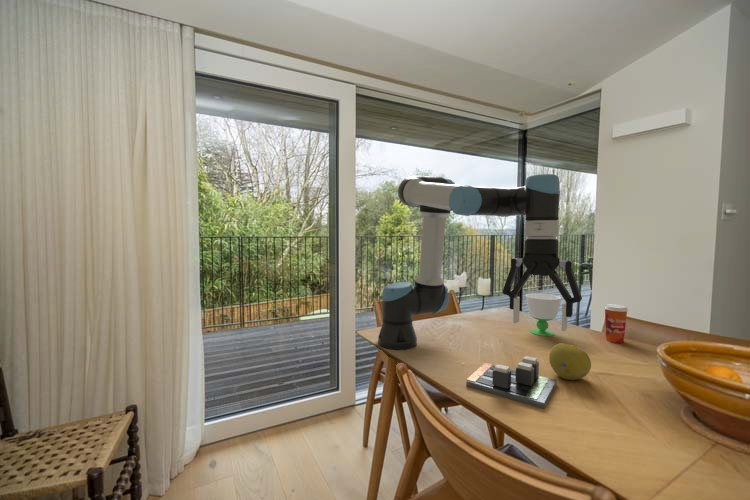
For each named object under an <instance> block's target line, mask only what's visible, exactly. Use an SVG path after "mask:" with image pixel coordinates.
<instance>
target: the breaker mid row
mask: <svg viewBox="0 0 750 500" xmlns="http://www.w3.org/2000/svg"><path fill="white" fill-rule="evenodd" d="M515 370H516V382H517V383H521V384H525V385H529V386H532V384H533V383H534V368H532V364H528V363H524V362H522V361H519V362H518V364H517V366H516V367H515Z"/></svg>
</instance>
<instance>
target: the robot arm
mask: <svg viewBox="0 0 750 500" xmlns="http://www.w3.org/2000/svg"><path fill="white" fill-rule="evenodd" d="M559 177H560V176H558V175H557V174H551V173H544V174H541V173H540V174H533V175H530V176H528V177H526V179H525V184H524V186H518V187H493V186H489V187H488V186H477V185H475V186H474V185H462V184H456V183H455V181H454V180H453V179H452V178H448V177H444V176H430V175H429V176H428V175H412V176H407V177H406V178H404V179H403V180H402V181H401V182H400V184H399V185H398V188H397V195H398V199H399V200H400V202H402V204H403V205H404V206H405V205H406V206H407V207H411V208H419V213H420V214H421V215H422V218H423V219H422V229H421V231H422V232H421V242H420V243H421V246H420V258H419V259H420V261H419V268H418V270H419V272H418V276H417V277H416V278H415V279H414V285H413V284H412V282H408V281H399V282H393V283H388V284H387V285H385V286H384V287H383V289H382V295H381V296H382V297H381V300H382V303H381V304H382V306H381V307H382V308H381V309H382V324H381V327H380V330H379V334H378V336H377V337H378V338H377V340H378V341H377V343H378V345H379V346H380V347H382V348H385V349H390V350H406V349H411V348H414V347H415V346H417V344H418V338H417V335H416V331H415V328H414V324H413V316H416V315H426V314H427V315H428V314H436V313H440V312H442V311H445V309H446V308H447V307H448V304H449V301H450V293H449V289H448V287H447V285H446V284H445V281H444V280H443V279H442V265H443V264H442V263H443V255H444V242H445V231H446V218H447V217H448V216H449V215H450V214H451V212H452V213H453V214H455V215H458V216H462V217H463V216H465V217H468V216H470V217H471V216H488V217H489V216H492V217H494V216H496V217H501V218H503V217H505V218H507V217H516V216H524V237H526V239H525V240H524V254H523V255H524V256H523V257H522V258H517V257H514V258H511V260H510V269H509V271H508V275H507V278H506V281H505V283H504V285H503V289H502V291H501V292H502V295H506V296H508V297H509V309H510V310H513V316H512V317H513V318H512V319H513V320H512V322H513V324H517V323H519V322H520V304H521V303H520V301H521V298H520V296H518V294H519V292H520V291H521V289H523V287H524V285H525V284H526V283H527V281H528V279H530V277H531V276H539V275H540V276H543V277H547V276H548V277H549V278H550V280H551V281H552V283H553V284H554V287H556V289H557V290H558V292H559V293H560V295H561V296H562V297H561V298H563V300H564V302H562V303H561V305H562V307H561V309H562V310H561V331H562V332H566V331H567V329H568V318H571V317H573V311H574V308H573V307H574V306H573V305H574V304H576V303H581V301H582V299H583V297H582V294H581V291H580V288H579V285H578V281H577V280H576V276H575V274H574V271H573V269H574V261H573V260H571V259H570V260H562V259H560V257H559V240H558V238H557V237H559V236H560V235H559V234H560V233H559V231H560V229H559V228H560V220H559V215H560V214H559V213H560V212H559V209H560V197H561V196H560V195H561V190H560V178H559ZM522 264H523V265H524V267H525V268H526V270H525V271H524V272H523V274H522V276H521V277H520V279H519V280H518V281H517V282H516V284H515V286H514V287H513V288H512V286H513V284H514V281H515V278H516V275H517V273H518V270H519V267H520V266H521V265H522ZM558 266H561V267H562V269H563V270H564V271H565V275H566V278H567V280H568V284H569V287H570V290H571V292H572V295H571V294H570V292H569V291H568V288H567V287H566V286H565V284H564V283H563V280H562V279H561V278H560V276H559V274H558V273H557V271H556V269H557V268H558ZM511 289H512V290H511Z"/></svg>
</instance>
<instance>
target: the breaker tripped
mask: <svg viewBox="0 0 750 500" xmlns="http://www.w3.org/2000/svg"><path fill="white" fill-rule="evenodd" d="M495 365H496V366H495V369H494V370H493V385H495V386H499V387H502V388H506V389H508V388H509V387H510V385H511V370H509V369H510V366H508V365H503V364H499V363H497V364H495Z"/></svg>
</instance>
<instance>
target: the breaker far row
mask: <svg viewBox="0 0 750 500" xmlns="http://www.w3.org/2000/svg"><path fill="white" fill-rule="evenodd" d="M521 362H524V363H528V364H532V368H534V379H536V378H537V377H538V376H540V375H539V373H540V372H539V371H540V370H539V369H540V368H539V367H540V361H538V358H537V357H532V356H528V355H525V356H524V357H523V358H522V360H521Z"/></svg>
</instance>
